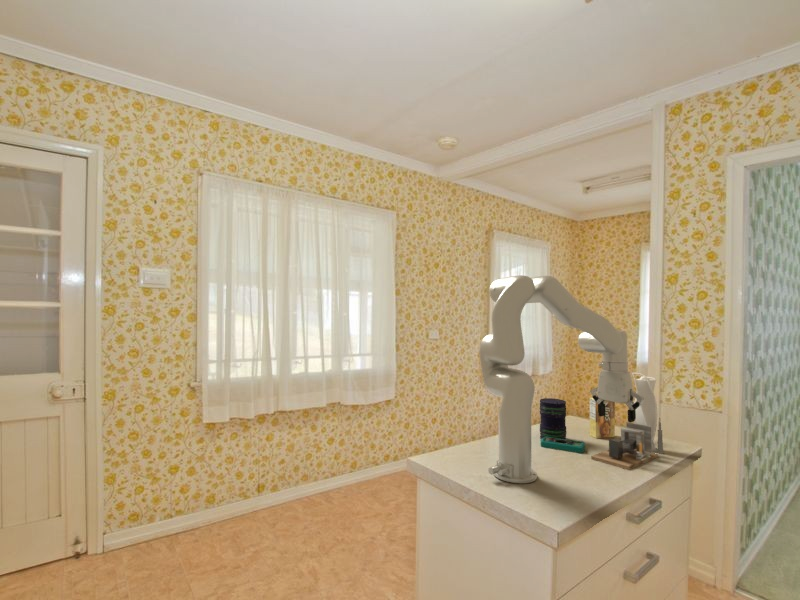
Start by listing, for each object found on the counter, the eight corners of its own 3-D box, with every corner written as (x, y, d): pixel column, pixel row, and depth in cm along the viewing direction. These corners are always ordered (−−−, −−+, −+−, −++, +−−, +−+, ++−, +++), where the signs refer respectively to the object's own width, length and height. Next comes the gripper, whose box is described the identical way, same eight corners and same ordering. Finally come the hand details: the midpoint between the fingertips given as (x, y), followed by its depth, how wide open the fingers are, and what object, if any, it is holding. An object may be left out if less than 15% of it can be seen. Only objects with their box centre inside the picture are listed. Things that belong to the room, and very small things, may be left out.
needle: (640, 456, 136) (640, 444, 136) (635, 455, 138) (635, 442, 138) (642, 455, 137) (642, 443, 137) (637, 454, 138) (637, 442, 138)
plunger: (627, 461, 133) (626, 444, 133) (609, 456, 138) (608, 439, 138) (645, 454, 141) (645, 437, 141) (627, 449, 145) (627, 433, 146)
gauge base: (628, 469, 130) (627, 438, 130) (591, 459, 140) (591, 429, 140) (657, 457, 142) (657, 428, 143) (622, 448, 152) (621, 420, 152)
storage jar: (534, 436, 165) (534, 398, 166) (555, 434, 168) (554, 397, 169) (550, 444, 156) (550, 403, 157) (572, 441, 159) (571, 402, 160)
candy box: (608, 434, 170) (607, 396, 170) (615, 437, 166) (615, 398, 166) (589, 435, 168) (588, 397, 168) (596, 438, 164) (596, 399, 164)
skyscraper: (638, 453, 147) (637, 373, 148) (629, 446, 155) (628, 371, 156) (664, 454, 146) (663, 374, 147) (654, 447, 153) (653, 371, 155)
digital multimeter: (543, 442, 159) (543, 434, 159) (585, 449, 151) (585, 441, 152) (539, 447, 153) (539, 439, 153) (582, 455, 145) (582, 446, 145)
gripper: (584, 365, 144) (585, 415, 143) (636, 370, 130) (638, 426, 129) (596, 363, 148) (597, 412, 147) (647, 368, 134) (649, 422, 133)
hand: (616, 418), depth 138 cm, fingers open, 9 cm apart
